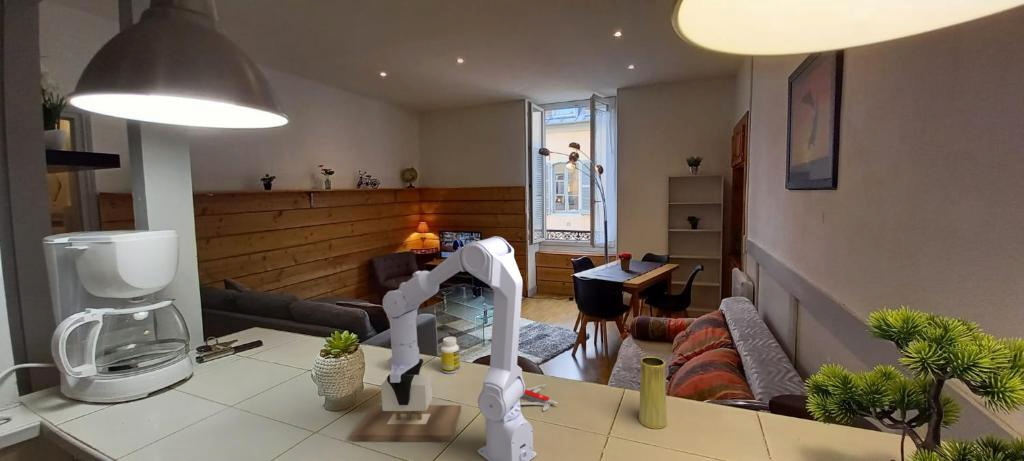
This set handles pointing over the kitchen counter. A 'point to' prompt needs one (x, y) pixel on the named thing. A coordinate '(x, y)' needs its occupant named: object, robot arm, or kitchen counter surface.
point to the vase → (652, 393)
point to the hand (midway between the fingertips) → (407, 397)
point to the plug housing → (418, 395)
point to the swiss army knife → (536, 398)
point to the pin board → (408, 425)
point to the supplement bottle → (450, 355)
